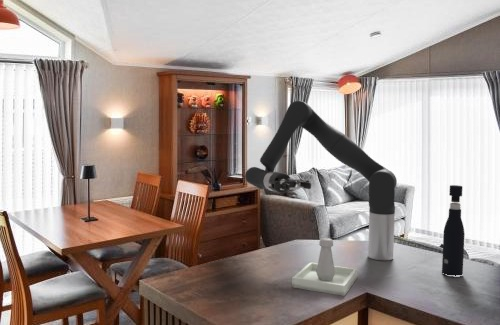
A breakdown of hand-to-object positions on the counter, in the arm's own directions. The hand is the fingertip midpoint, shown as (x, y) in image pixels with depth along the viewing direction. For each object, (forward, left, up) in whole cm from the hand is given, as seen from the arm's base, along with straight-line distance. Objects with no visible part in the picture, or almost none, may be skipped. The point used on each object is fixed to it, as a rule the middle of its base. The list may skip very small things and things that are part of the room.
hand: (299, 186), depth 157 cm
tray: (+11, +13, -28) cm, 33 cm away
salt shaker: (+11, +13, -28) cm, 33 cm away
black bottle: (-16, +49, -29) cm, 59 cm away
